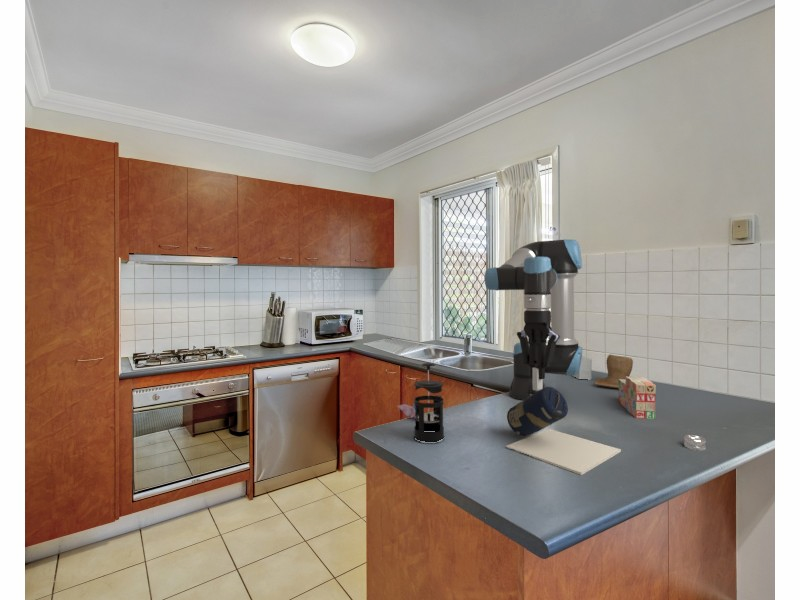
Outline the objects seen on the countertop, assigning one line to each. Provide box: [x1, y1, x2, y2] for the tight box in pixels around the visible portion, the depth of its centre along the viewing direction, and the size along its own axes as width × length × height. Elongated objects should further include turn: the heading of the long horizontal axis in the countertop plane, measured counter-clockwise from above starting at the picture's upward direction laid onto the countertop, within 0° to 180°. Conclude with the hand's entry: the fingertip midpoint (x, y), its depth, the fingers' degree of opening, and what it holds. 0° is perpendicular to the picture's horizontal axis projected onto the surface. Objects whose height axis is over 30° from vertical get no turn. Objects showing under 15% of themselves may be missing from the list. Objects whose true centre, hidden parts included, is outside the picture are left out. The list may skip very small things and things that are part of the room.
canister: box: [506, 386, 569, 438], centre depth 119 cm, size 10×10×18 cm
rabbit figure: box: [395, 403, 415, 419], centre depth 142 cm, size 6×6×15 cm
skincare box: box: [571, 355, 593, 381], centre depth 204 cm, size 10×6×10 cm, turn 179°
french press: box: [413, 362, 445, 442], centre depth 123 cm, size 12×9×23 cm
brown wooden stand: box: [594, 354, 634, 390], centre depth 183 cm, size 15×12×15 cm
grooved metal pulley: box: [683, 434, 707, 452], centre depth 114 cm, size 5×3×5 cm
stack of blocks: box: [618, 376, 657, 420], centre depth 149 cm, size 21×6×12 cm, turn 166°
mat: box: [505, 428, 622, 476], centre depth 113 cm, size 22×22×1 cm
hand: (537, 389), depth 118 cm, fingers closed
